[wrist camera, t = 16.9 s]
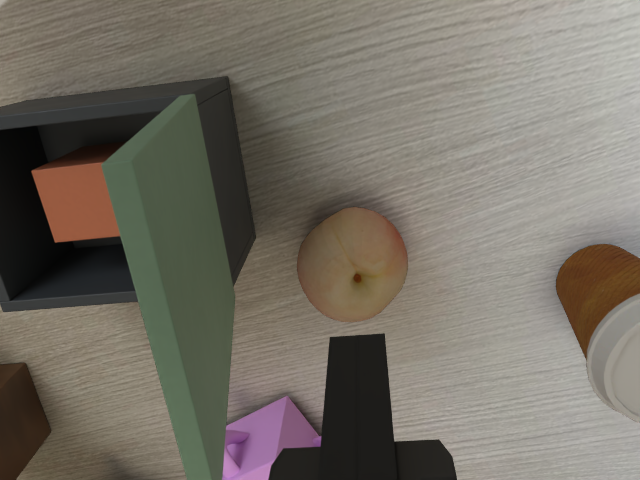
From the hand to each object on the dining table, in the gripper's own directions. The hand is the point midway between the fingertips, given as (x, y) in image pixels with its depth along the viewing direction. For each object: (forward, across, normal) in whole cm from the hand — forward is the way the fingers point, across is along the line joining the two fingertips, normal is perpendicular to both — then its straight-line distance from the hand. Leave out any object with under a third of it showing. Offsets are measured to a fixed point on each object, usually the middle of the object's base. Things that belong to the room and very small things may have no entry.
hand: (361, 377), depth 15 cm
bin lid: (+9, -8, 0) cm, 12 cm away
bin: (+28, -17, 0) cm, 32 cm away
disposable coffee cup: (+28, +18, -12) cm, 35 cm away
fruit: (+28, -1, -7) cm, 29 cm away
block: (+27, -18, 0) cm, 32 cm away
